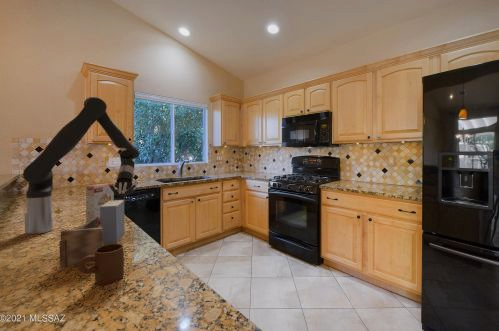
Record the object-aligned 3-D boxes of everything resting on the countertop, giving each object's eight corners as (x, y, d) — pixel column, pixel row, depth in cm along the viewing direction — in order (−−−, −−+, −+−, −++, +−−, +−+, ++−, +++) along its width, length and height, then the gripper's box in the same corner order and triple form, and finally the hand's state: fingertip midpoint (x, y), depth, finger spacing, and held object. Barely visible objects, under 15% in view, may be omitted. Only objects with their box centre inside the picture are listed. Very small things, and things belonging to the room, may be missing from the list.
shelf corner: (60, 268, 77) (59, 232, 76) (94, 236, 107) (94, 210, 107) (101, 263, 80) (100, 229, 80) (123, 233, 111) (123, 209, 110)
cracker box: (95, 224, 126) (94, 186, 125) (85, 223, 127) (84, 185, 126) (114, 217, 140) (114, 183, 139) (106, 217, 141) (105, 182, 140)
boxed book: (100, 244, 98) (99, 206, 97) (110, 233, 111) (109, 200, 110) (117, 243, 99) (116, 205, 99) (124, 232, 113) (124, 199, 112)
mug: (85, 296, 62) (85, 261, 61) (72, 287, 66) (71, 255, 65) (129, 276, 72) (128, 246, 72) (115, 270, 76) (114, 241, 75)
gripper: (110, 171, 124) (104, 197, 113) (137, 170, 128) (133, 196, 117) (113, 179, 130) (107, 206, 118) (139, 179, 133) (136, 204, 122)
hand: (120, 201), depth 118 cm, fingers closed
